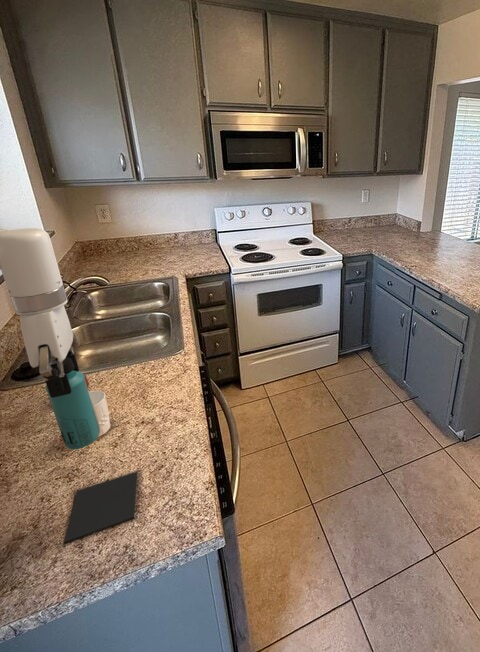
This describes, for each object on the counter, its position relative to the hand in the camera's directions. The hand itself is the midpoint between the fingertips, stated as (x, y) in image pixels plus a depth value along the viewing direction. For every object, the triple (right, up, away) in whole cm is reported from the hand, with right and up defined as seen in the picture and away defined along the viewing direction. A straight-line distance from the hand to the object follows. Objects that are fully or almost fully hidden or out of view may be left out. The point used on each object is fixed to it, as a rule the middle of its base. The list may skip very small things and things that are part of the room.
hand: (65, 383), depth 69 cm
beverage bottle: (0, -14, +5) cm, 15 cm away
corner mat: (+3, -28, +7) cm, 29 cm away
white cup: (-12, -22, +28) cm, 37 cm away
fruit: (-27, -17, +42) cm, 52 cm away
